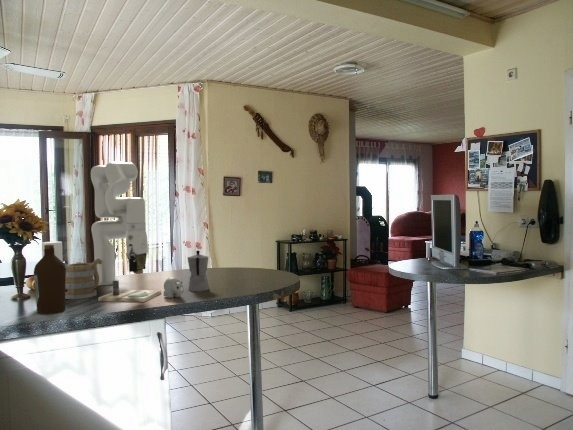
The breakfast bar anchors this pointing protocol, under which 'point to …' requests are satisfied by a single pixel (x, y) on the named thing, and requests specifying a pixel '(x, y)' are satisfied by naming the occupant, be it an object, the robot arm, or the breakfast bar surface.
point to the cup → (140, 262)
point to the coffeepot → (198, 272)
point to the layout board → (129, 294)
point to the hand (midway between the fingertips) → (137, 269)
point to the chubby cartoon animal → (173, 287)
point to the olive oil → (50, 283)
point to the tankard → (82, 280)
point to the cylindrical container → (56, 249)
